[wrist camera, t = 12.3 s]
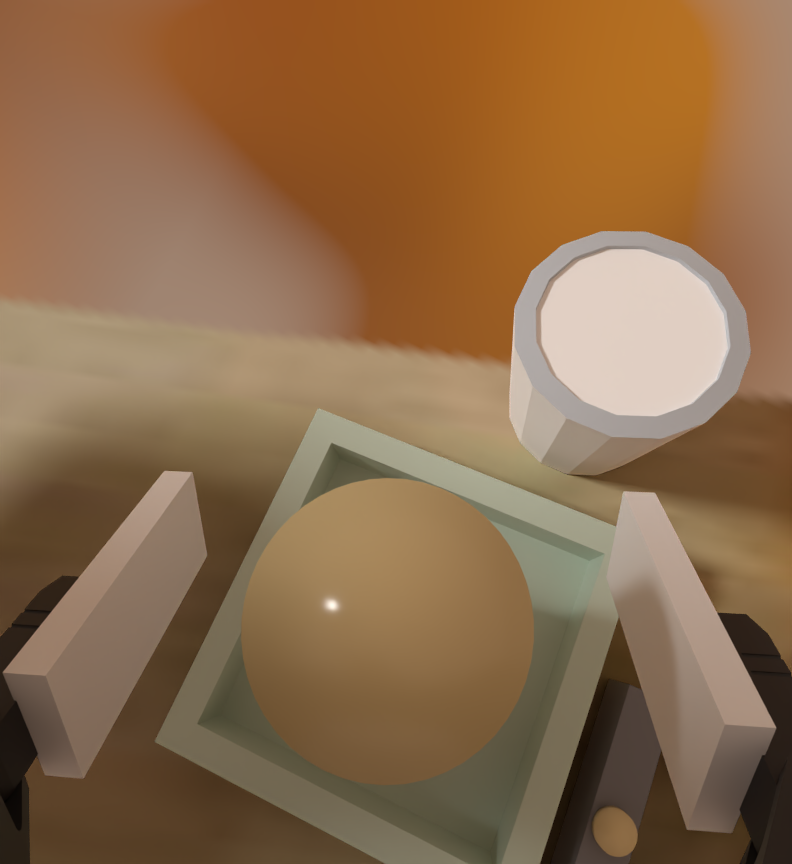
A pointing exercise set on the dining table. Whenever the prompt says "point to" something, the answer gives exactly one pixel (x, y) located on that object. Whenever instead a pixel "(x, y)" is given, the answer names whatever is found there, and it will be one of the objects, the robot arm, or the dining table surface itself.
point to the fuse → (387, 631)
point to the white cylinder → (621, 350)
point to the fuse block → (611, 782)
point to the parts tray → (501, 757)
